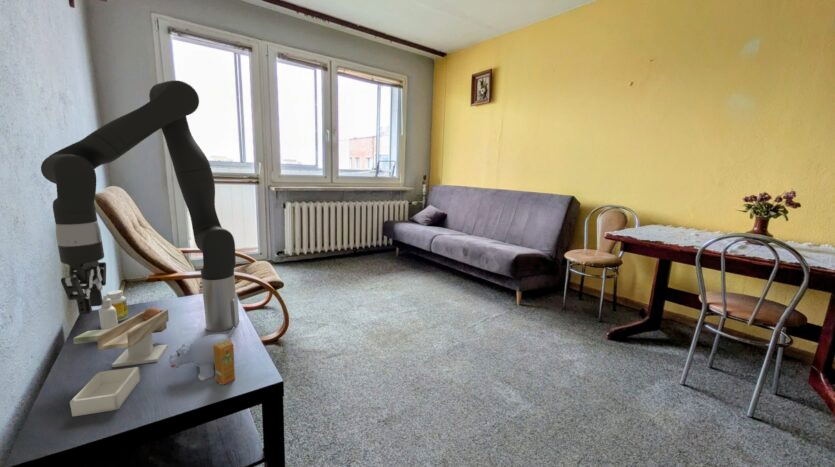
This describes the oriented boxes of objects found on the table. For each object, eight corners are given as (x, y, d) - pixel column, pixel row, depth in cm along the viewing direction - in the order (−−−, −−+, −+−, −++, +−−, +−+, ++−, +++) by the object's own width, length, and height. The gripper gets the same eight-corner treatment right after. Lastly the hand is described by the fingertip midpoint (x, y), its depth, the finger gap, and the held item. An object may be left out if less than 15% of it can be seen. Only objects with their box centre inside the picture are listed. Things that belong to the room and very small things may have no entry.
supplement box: (223, 386, 84) (219, 348, 82) (215, 381, 86) (212, 344, 84) (236, 379, 87) (233, 342, 85) (228, 374, 88) (225, 338, 87)
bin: (140, 379, 86) (138, 366, 85) (118, 409, 75) (116, 395, 75) (100, 385, 83) (98, 372, 82) (72, 416, 73) (69, 401, 72)
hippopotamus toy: (170, 368, 91) (165, 335, 89) (233, 351, 100) (231, 320, 98) (173, 389, 82) (168, 353, 80) (242, 368, 91) (239, 335, 90)
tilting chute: (168, 327, 106) (168, 309, 106) (132, 354, 83) (131, 332, 83) (119, 332, 102) (118, 313, 102) (66, 362, 79) (64, 339, 79)
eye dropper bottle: (120, 326, 112) (115, 291, 109) (118, 333, 107) (113, 297, 105) (102, 329, 109) (96, 294, 107) (100, 337, 105) (93, 300, 103)
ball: (162, 318, 105) (162, 305, 105) (157, 321, 101) (156, 308, 101) (147, 319, 104) (146, 306, 104) (141, 323, 100) (140, 309, 100)
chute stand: (168, 346, 101) (165, 326, 99) (157, 361, 93) (154, 339, 92) (126, 351, 98) (123, 330, 96) (112, 367, 90) (108, 344, 89)
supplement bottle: (108, 318, 117) (104, 291, 116) (128, 314, 121) (124, 288, 119) (107, 323, 113) (103, 296, 111) (128, 319, 117) (124, 292, 115)
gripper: (82, 247, 76) (94, 320, 79) (114, 234, 89) (124, 297, 92) (38, 249, 73) (52, 323, 77) (78, 235, 87) (89, 299, 90)
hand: (91, 309), depth 84 cm, fingers open, 4 cm apart
